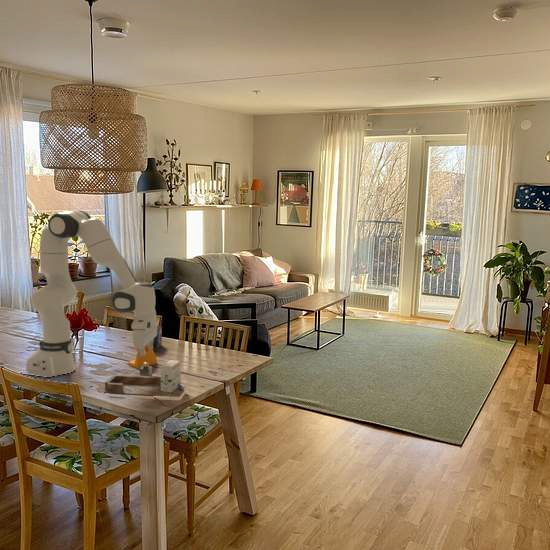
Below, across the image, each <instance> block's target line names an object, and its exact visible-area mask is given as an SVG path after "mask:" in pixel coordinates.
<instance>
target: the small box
mask: <svg viewBox="0 0 550 550" xmlns="http://www.w3.org/2000/svg"><path fill="white" fill-rule="evenodd" d="M162 328H163V326H162V325H160V326H159V325H157V336H156V337H155V338H154V341H153V351H154V352H157V351H158V350H159V349H160V348H161V347H162V342H163V338H162V336H163V335H162V333H163V332H162Z"/></svg>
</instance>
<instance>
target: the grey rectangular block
mask: <svg viewBox="0 0 550 550" xmlns="http://www.w3.org/2000/svg"><path fill="white" fill-rule="evenodd" d="M139 374H140V376H152V374H153V365H149V362H143V366H142V367H141V368H139Z"/></svg>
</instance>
